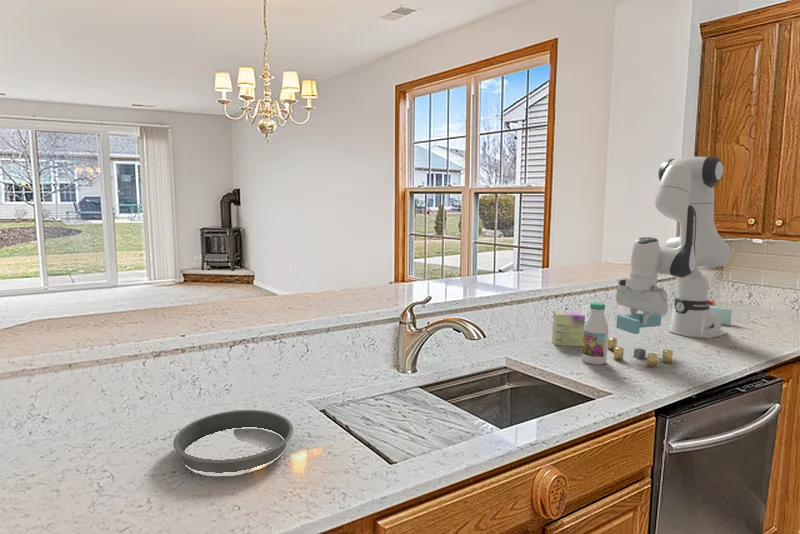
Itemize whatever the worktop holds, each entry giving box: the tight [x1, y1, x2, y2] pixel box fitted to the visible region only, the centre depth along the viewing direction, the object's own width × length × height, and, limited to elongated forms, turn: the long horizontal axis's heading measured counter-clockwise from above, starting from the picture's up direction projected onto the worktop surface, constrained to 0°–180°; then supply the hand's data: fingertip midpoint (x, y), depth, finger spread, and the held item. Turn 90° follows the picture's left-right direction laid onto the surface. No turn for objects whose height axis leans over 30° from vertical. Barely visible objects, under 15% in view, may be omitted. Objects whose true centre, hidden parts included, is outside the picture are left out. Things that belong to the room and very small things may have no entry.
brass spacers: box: [607, 337, 674, 369], centre depth 183 cm, size 16×22×4 cm
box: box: [551, 311, 586, 348], centre depth 197 cm, size 10×6×12 cm, turn 84°
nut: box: [633, 348, 647, 359], centre depth 183 cm, size 4×4×2 cm
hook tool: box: [615, 312, 662, 335], centre depth 184 cm, size 18×8×4 cm, turn 111°
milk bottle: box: [581, 301, 609, 366], centre depth 176 cm, size 8×8×20 cm
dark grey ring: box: [173, 409, 294, 473], centre depth 114 cm, size 25×25×4 cm
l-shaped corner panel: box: [710, 306, 733, 326], centre depth 238 cm, size 12×12×8 cm
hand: (639, 322), depth 187 cm, fingers closed on hook tool, 2 cm apart
